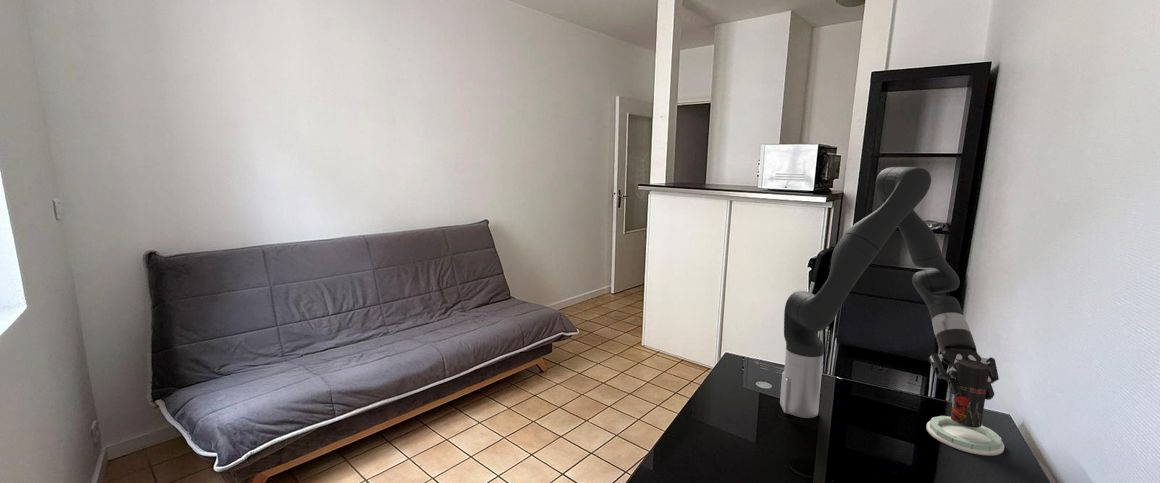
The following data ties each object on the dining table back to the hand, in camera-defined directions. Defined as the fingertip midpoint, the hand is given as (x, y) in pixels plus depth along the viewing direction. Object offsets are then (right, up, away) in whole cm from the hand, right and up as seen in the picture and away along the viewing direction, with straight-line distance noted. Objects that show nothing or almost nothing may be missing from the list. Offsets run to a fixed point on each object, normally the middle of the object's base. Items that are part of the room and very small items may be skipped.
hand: (973, 396), depth 113 cm
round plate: (0, -11, +3) cm, 12 cm away
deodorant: (0, -7, +3) cm, 8 cm away
